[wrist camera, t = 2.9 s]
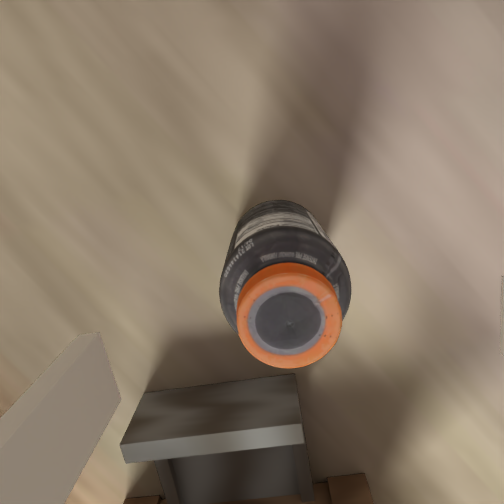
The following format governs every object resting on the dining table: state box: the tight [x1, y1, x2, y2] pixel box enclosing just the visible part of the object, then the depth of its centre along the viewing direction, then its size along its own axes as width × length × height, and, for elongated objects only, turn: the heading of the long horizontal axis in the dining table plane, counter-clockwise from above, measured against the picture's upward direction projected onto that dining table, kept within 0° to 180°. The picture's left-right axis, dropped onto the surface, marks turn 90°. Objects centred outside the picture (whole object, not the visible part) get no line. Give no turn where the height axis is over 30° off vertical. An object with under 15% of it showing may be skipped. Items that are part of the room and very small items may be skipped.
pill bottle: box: [219, 200, 351, 368], centre depth 19 cm, size 6×6×11 cm
